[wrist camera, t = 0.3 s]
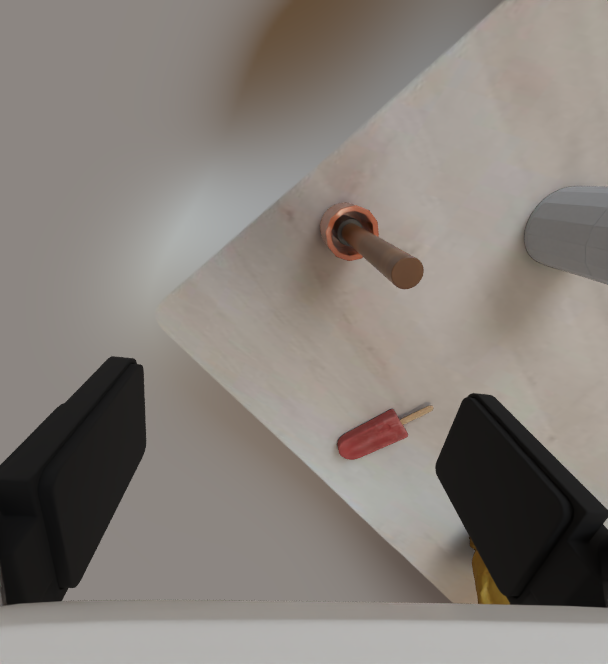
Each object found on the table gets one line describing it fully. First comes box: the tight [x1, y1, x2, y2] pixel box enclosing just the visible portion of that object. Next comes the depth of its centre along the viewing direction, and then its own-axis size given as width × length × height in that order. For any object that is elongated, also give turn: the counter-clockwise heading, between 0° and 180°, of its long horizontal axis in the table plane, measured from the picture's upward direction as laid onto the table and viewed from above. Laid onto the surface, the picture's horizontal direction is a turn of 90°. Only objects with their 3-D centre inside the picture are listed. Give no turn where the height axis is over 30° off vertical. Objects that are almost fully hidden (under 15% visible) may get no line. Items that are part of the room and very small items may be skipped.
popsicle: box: [337, 406, 433, 460], centre depth 48 cm, size 4×2×15 cm
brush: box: [332, 215, 423, 289], centre depth 27 cm, size 3×3×20 cm
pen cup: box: [320, 202, 379, 261], centre depth 34 cm, size 5×5×6 cm
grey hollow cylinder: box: [524, 186, 608, 285], centre depth 33 cm, size 9×9×11 cm
